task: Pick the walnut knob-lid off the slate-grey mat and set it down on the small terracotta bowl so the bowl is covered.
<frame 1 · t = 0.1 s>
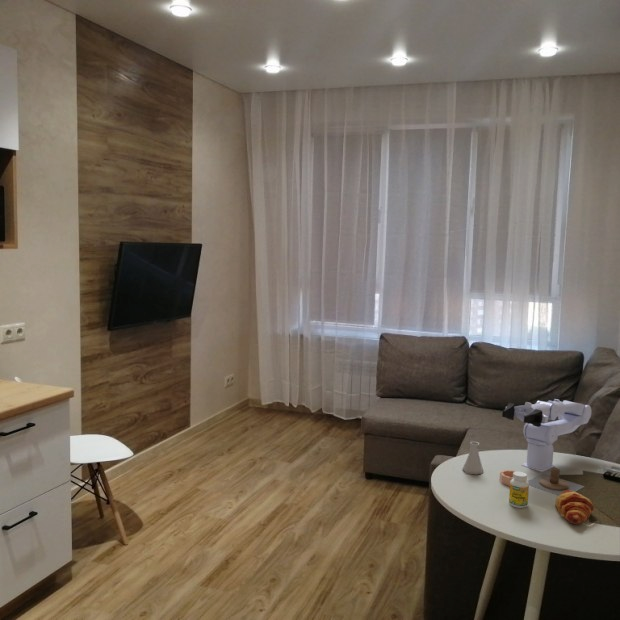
hand: (513, 416, 200), 22 cm above the table, tool horizontal, fingers open, 7 cm apart
mat: (553, 485, 199), on the table
lid: (553, 484, 199), resting on mat
supplement bottle: (517, 505, 183), on the table
flask: (472, 471, 210), on the table
bowl: (511, 483, 200), on the table
croissant: (573, 514, 179), on the table
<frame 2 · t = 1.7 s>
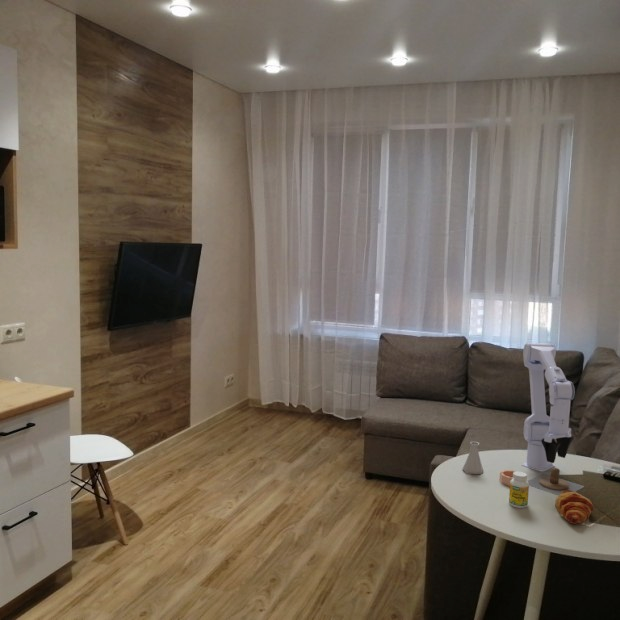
hand: (556, 459, 198), 9 cm above the table, tool pointing down, fingers open, 7 cm apart
nothing on the table moved.
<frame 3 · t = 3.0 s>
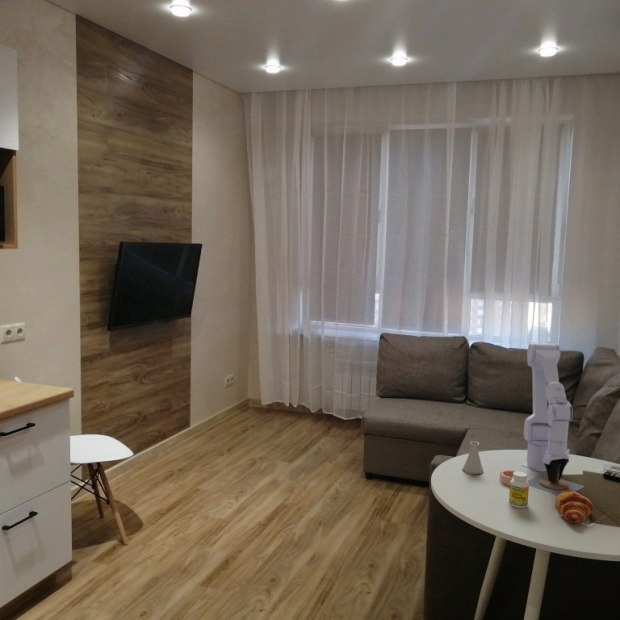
hand: (554, 480, 199), 2 cm above the table, tool pointing down, fingers closed on lid, 3 cm apart
lid: (553, 484, 199), resting on mat, touching gripper
everything else where it was.
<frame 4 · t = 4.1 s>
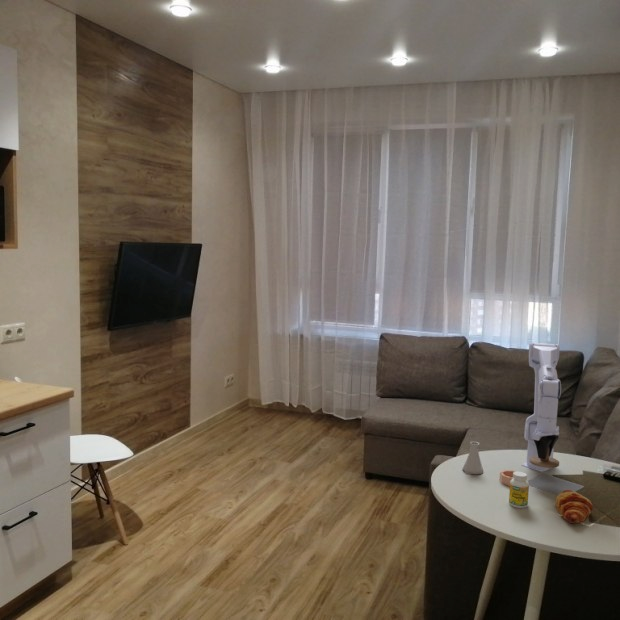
hand: (544, 457, 198), 9 cm above the table, tool pointing down, fingers closed on lid, 3 cm apart
lid: (544, 462, 198), point 8 cm above the table, touching gripper
everything else where it was.
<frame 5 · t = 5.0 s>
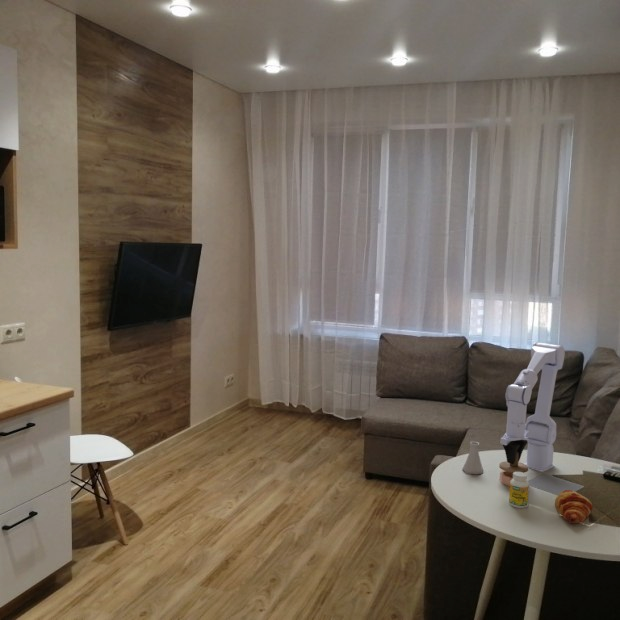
hand: (513, 462, 199), 7 cm above the table, tool pointing down, fingers closed on lid, 3 cm apart
lid: (513, 468, 199), point 5 cm above the table, touching gripper
everything else where it was.
when the fingers open (6 cm above the table, at t = 5.5 s): lid stays where it is, resting on bowl.
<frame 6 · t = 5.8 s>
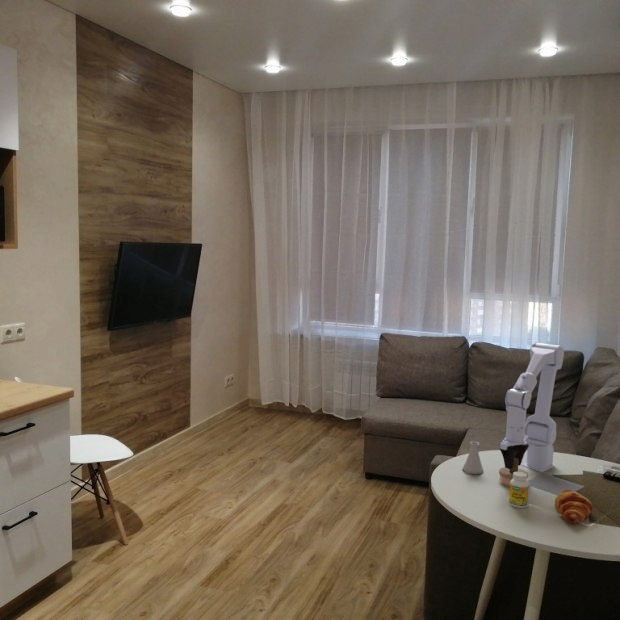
hand: (512, 466, 200), 6 cm above the table, tool pointing down, fingers open, 5 cm apart
lid: (513, 474, 200), point 3 cm above the table, touching bowl
everything else where it was.
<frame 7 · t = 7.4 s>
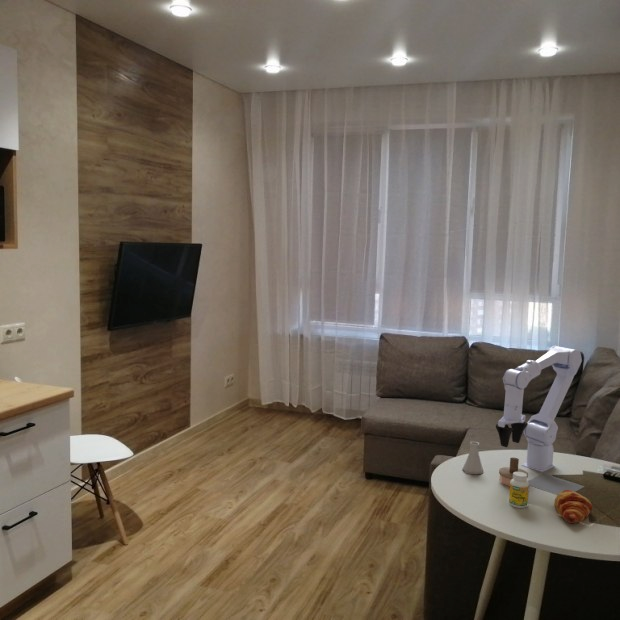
hand: (510, 444, 207), 10 cm above the table, tool pointing down, fingers open, 7 cm apart
nothing on the table moved.
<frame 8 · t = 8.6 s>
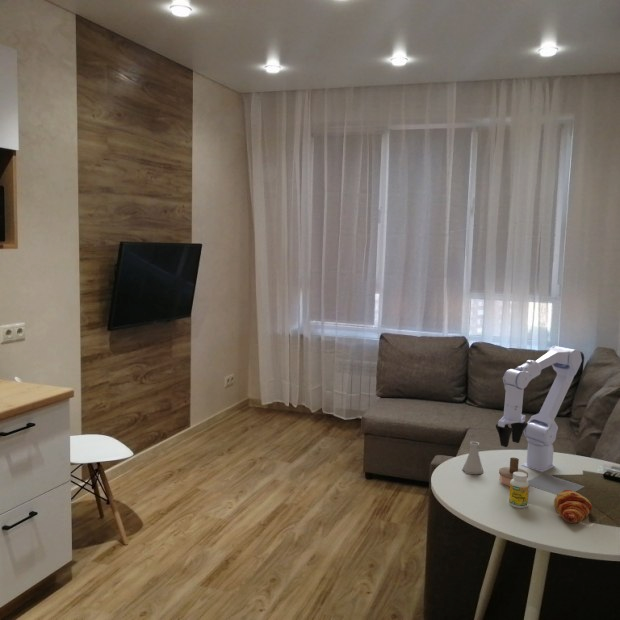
hand: (509, 444, 207), 10 cm above the table, tool pointing down, fingers open, 7 cm apart
nothing on the table moved.
at the end: lid 0.4 cm off-centre on the bowl, point 3.0 cm above the bowl's base; lid tilted 0°; the gripper is holding nothing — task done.
